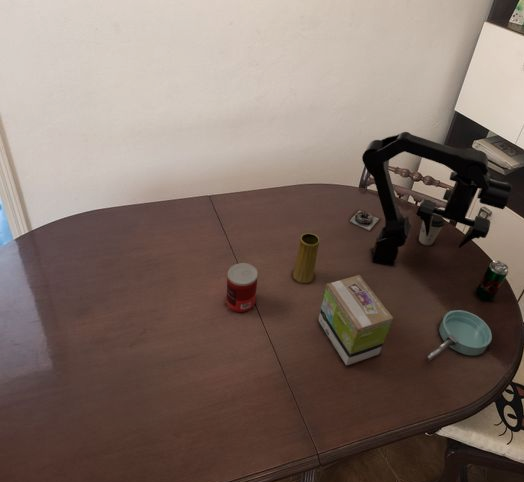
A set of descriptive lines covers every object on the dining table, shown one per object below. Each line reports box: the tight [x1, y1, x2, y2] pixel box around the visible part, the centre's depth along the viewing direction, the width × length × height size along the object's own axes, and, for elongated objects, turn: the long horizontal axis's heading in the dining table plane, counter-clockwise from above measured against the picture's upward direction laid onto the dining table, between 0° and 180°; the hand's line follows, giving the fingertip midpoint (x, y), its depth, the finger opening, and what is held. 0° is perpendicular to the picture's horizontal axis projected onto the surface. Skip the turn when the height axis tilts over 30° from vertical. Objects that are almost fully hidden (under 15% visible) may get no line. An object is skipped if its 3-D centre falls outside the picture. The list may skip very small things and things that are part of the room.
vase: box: [292, 232, 320, 284], centre depth 130 cm, size 6×6×14 cm
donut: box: [349, 210, 380, 231], centre depth 158 cm, size 8×8×2 cm
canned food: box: [225, 262, 259, 313], centre depth 121 cm, size 8×8×11 cm
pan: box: [438, 309, 493, 356], centre depth 121 cm, size 12×12×4 cm
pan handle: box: [425, 334, 458, 362], centre depth 114 cm, size 11×2×2 cm, turn 127°
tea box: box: [318, 274, 394, 366], centre depth 114 cm, size 15×10×15 cm
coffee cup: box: [418, 215, 446, 246], centre depth 150 cm, size 7×7×10 cm
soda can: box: [475, 260, 509, 302], centre depth 131 cm, size 5×5×12 cm
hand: (443, 241), depth 132 cm, fingers open, 9 cm apart
